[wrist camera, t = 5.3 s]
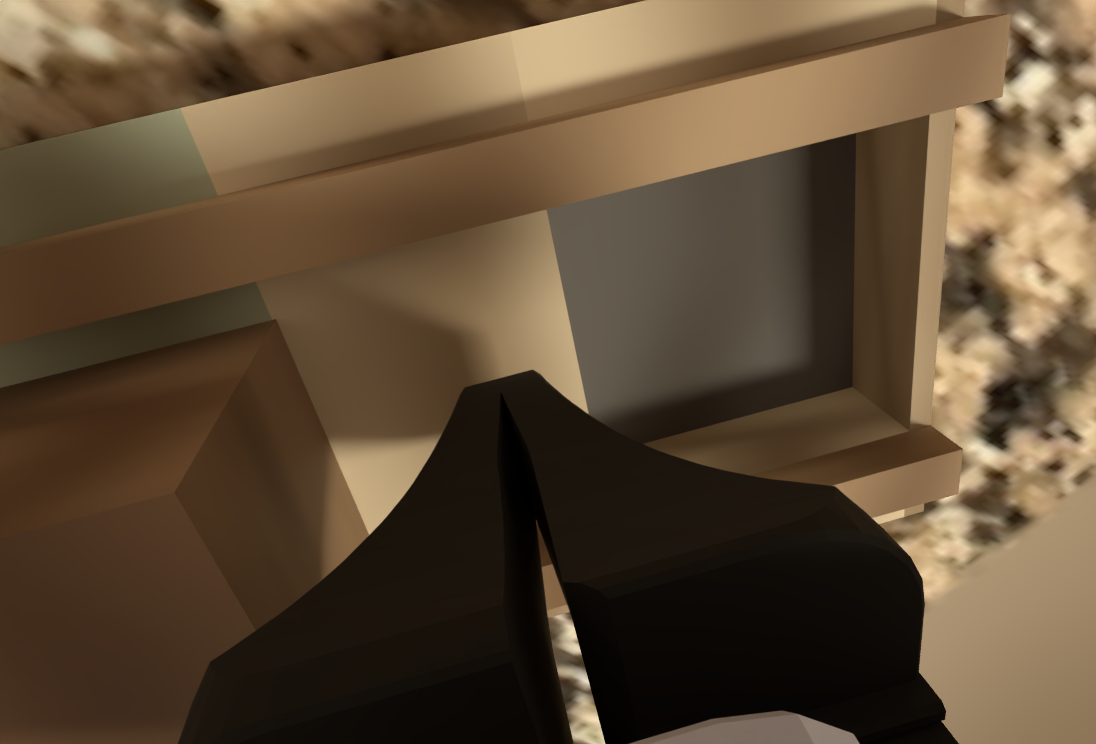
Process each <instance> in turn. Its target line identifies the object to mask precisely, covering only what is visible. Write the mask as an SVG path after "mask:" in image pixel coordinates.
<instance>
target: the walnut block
mask: <svg viewBox="0 0 1096 744" xmlns="http://www.w3.org/2000/svg"><path fill="white" fill-rule="evenodd" d="M368 536H369V533H368V531H367V529H366V526H365V524H364V522H363V519H362V517H361V515H360V512H359V510H358V508H357V505H356V503H355V501H354V499H353V496H352V494H351V492H350V489H349V487H348V485H347V482H346V480H345V478H344V475H343V473H342V471H341V468H340V466H339V464H338V461H337V459H336V457H335V454H334V452H333V450H332V448H331V445H330V443H329V441H328V438H327V436H326V434H325V431H324V429H323V427H322V424H321V422H320V420H319V417H318V415H317V413H316V410H315V408H314V406H313V403H312V401H311V399H310V397H309V394H308V392H307V390H306V387H305V385H304V383H303V380H302V378H301V376H300V373H299V371H298V369H297V366H296V364H295V362H294V359H293V357H292V355H291V352H290V350H289V348H288V346H287V343H286V341H285V339H284V336H283V334H282V332H281V329H280V327H279V325H278V322H277V320H276V319H274V320H270V321H266V322H262V323H258V324H254V325H250V326H246V327H242V328H238V329H234V330H230V331H226V332H222V333H218V334H214V335H210V336H206V337H202V338H198V339H194V340H190V341H186V342H182V343H178V344H174V345H170V346H166V347H162V348H158V349H154V350H150V351H146V352H142V353H138V354H134V355H130V356H126V357H122V358H118V359H114V360H110V361H106V362H102V363H98V364H94V365H90V366H86V367H82V368H78V369H74V370H70V371H66V372H62V373H58V374H54V375H50V376H46V377H42V378H38V379H34V380H30V381H26V382H22V383H18V384H14V385H10V386H6V387H2V388H0V744H178V742H179V739H180V736H181V733H182V730H183V727H184V724H185V722H186V719H187V716H188V713H189V710H190V707H191V704H192V702H193V700H194V697H195V695H196V693H197V690H198V688H199V686H200V683H201V681H202V679H203V676H204V674H205V672H206V670H207V667H208V665H209V663H210V661H212V660H213V659H215V658H217V657H218V656H220V655H221V654H223V653H224V652H226V651H227V650H229V649H230V648H232V647H233V646H234V645H236V644H237V643H239V642H240V641H242V640H243V639H244V638H246V637H247V636H249V635H250V634H252V633H253V632H254V631H256V630H257V629H259V628H260V627H262V626H263V625H264V624H266V623H267V622H269V621H270V620H272V619H273V618H274V617H276V616H277V615H279V614H280V613H281V612H283V611H284V610H285V609H287V608H288V607H289V606H291V605H292V604H293V603H294V602H296V601H297V600H298V599H299V598H301V597H302V596H303V595H304V594H306V593H307V592H308V591H309V590H310V589H312V588H313V587H314V586H315V585H317V584H318V583H319V582H320V581H321V580H323V579H324V578H325V577H326V576H327V575H328V574H329V573H331V572H332V571H333V570H334V569H335V568H336V567H337V566H338V565H340V564H341V563H342V562H343V561H344V560H345V559H346V558H347V557H348V556H349V555H350V554H351V553H352V552H353V551H354V550H355V549H356V548H357V547H358V546H359V545H360V544H361V543H362V542H363V541H364V540H365V539H366V538H367V537H368Z"/></svg>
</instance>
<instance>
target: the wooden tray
mask: <svg viewBox="0 0 1096 744" xmlns="http://www.w3.org/2000/svg"><path fill="white" fill-rule="evenodd" d="M964 4H965V0H645V1H641V2H637V3H632V4H628V5H624V6H619V7H615V8H611V9H606V10H602V11H598V12H593V13H589V14H585V15H580V16H576V17H572V18H567V19H563V20H559V21H554V22H550V23H546V24H541V25H537V26H533V27H528V28H524V29H520V30H515V31H511V32H507V33H502V34H498V35H494V36H489V37H485V38H481V39H476V40H472V41H468V42H463V43H459V44H455V45H451V46H446V47H442V48H438V49H433V50H429V51H425V52H420V53H416V54H412V55H407V56H403V57H399V58H394V59H390V60H386V61H381V62H377V63H373V64H368V65H364V66H360V67H355V68H351V69H347V70H342V71H338V72H334V73H329V74H325V75H321V76H316V77H312V78H308V79H303V80H299V81H295V82H290V83H286V84H282V85H277V86H273V87H269V88H264V89H260V90H256V91H251V92H247V93H243V94H238V95H234V96H230V97H226V98H221V99H217V100H213V101H208V102H204V103H200V104H195V105H191V106H187V107H182V108H178V109H174V110H169V111H165V112H161V113H156V114H152V115H148V116H143V117H139V118H135V119H130V120H126V121H122V122H117V123H113V124H109V125H104V126H100V127H96V128H91V129H87V130H83V131H78V132H74V133H70V134H65V135H61V136H57V137H52V138H48V139H44V140H39V141H35V142H31V143H26V144H22V145H18V146H13V147H9V148H5V149H1V150H0V388H2V387H6V386H10V385H14V384H18V383H22V382H26V381H30V380H34V379H38V378H42V377H46V376H50V375H54V374H58V373H62V372H66V371H70V370H74V369H78V368H82V367H86V366H90V365H94V364H98V363H102V362H106V361H110V360H114V359H118V358H122V357H126V356H130V355H134V354H138V353H142V352H146V351H150V350H154V349H158V348H162V347H166V346H170V345H174V344H178V343H182V342H186V341H190V340H194V339H198V338H202V337H206V336H210V335H214V334H218V333H222V332H226V331H230V330H234V329H238V328H242V327H246V326H250V325H254V324H258V323H262V322H266V321H270V320H274V319H276V320H277V322H278V325H279V327H280V329H281V332H282V334H283V336H284V339H285V341H286V343H287V346H288V348H289V350H290V352H291V355H292V357H293V359H294V362H295V364H296V366H297V369H298V371H299V373H300V376H301V378H302V380H303V383H304V385H305V387H306V390H307V392H308V394H309V397H310V399H311V401H312V403H313V406H314V408H315V410H316V413H317V415H318V417H319V420H320V422H321V424H322V427H323V429H324V431H325V434H326V436H327V438H328V441H329V443H330V445H331V448H332V450H333V452H334V454H335V457H336V459H337V461H338V464H339V466H340V468H341V471H342V473H343V475H344V478H345V480H346V482H347V485H348V487H349V489H350V492H351V494H352V496H353V499H354V501H355V503H356V505H357V508H358V510H359V512H360V515H361V517H362V519H363V522H364V524H365V526H366V529H367V531H368V533H369V535H370V534H371V533H372V532H373V531H374V530H375V529H376V528H377V527H378V526H379V525H380V524H381V522H382V521H383V520H384V519H385V518H386V517H387V516H388V514H389V513H390V512H391V511H392V509H393V508H394V507H395V506H396V505H397V503H398V502H399V501H400V500H401V499H402V497H403V496H404V495H405V493H406V492H407V491H408V489H409V488H410V487H411V485H412V484H413V482H414V481H415V479H416V477H417V476H418V474H419V473H420V471H421V469H422V468H423V466H424V465H425V463H426V462H427V460H428V458H429V457H430V455H431V453H432V452H433V450H434V448H435V446H436V444H437V442H438V440H439V438H440V437H441V435H442V433H443V431H444V429H445V427H446V425H447V423H448V421H449V419H450V416H451V414H452V412H453V410H454V408H455V405H456V403H457V401H458V398H459V396H460V394H461V392H462V391H463V389H464V387H468V386H472V385H476V384H479V383H483V382H487V381H491V380H495V379H498V378H502V377H506V376H510V375H514V374H517V373H521V372H525V371H529V370H535V371H536V372H538V373H540V374H541V375H542V376H543V377H544V378H545V380H546V381H548V382H549V383H550V384H551V385H552V386H553V387H554V388H555V389H556V390H558V391H559V392H560V393H561V394H562V395H563V396H565V397H566V398H567V399H568V400H570V401H571V402H572V403H574V404H575V405H577V406H578V407H579V408H581V409H582V410H583V411H585V412H586V413H588V414H589V415H591V416H592V417H594V418H595V419H597V420H598V421H600V422H601V423H603V424H605V425H606V426H608V427H610V428H611V429H613V430H615V431H616V432H618V433H620V434H622V435H624V436H626V437H628V438H630V439H633V440H635V441H637V442H639V443H642V444H644V445H646V446H648V447H651V448H653V449H656V450H658V451H661V452H664V453H667V454H669V455H673V456H676V457H679V458H682V459H685V460H688V461H691V462H695V463H698V464H701V465H705V466H709V467H713V468H717V469H721V470H725V471H730V472H735V473H740V474H745V475H750V476H755V477H761V478H767V479H775V480H784V481H793V482H802V483H811V484H820V485H829V486H835V487H837V488H838V489H839V490H840V491H841V492H842V493H843V494H845V495H846V496H847V497H848V498H849V499H851V500H852V501H853V502H854V503H855V504H857V505H858V506H859V507H860V508H861V509H863V510H864V511H865V512H866V513H867V514H868V515H869V516H870V517H871V518H872V519H874V520H875V521H876V522H877V523H878V524H880V523H884V522H887V521H891V520H894V519H898V518H901V517H905V516H908V515H912V514H915V513H919V512H922V511H924V503H927V502H931V501H934V500H938V499H941V498H945V497H948V496H952V495H956V494H958V491H959V482H960V473H961V464H962V454H963V449H962V448H961V447H959V446H958V445H957V444H955V443H954V442H953V441H951V440H950V439H948V438H947V437H946V436H944V435H943V434H942V433H940V432H939V431H937V430H936V429H935V428H933V427H932V426H931V425H930V424H931V412H932V400H933V387H934V375H935V363H936V350H937V338H938V326H939V313H940V301H941V288H942V276H943V264H944V251H945V239H946V227H947V214H948V202H949V190H950V177H951V165H952V152H953V140H954V128H955V115H956V108H958V107H962V106H966V105H970V104H975V103H979V102H983V101H987V100H991V99H995V98H999V97H1002V93H1003V84H1004V75H1005V66H1006V57H1007V48H1008V39H1009V30H1010V21H1011V14H999V15H986V16H973V17H963V16H964ZM536 524H537V521H536ZM537 532H538V540H539V548H540V556H541V565H542V573H543V581H544V590H545V598H546V606H547V615H548V618H550V617H553V616H557V615H560V614H564V613H567V612H570V611H569V608H568V606H567V603H566V600H565V597H564V595H563V592H562V589H561V587H560V584H559V581H558V578H557V576H556V573H555V570H554V568H553V565H552V562H551V559H550V557H549V554H548V551H547V548H546V546H545V543H544V540H543V538H542V535H541V532H540V529H539V527H538V524H537Z"/></svg>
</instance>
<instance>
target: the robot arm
mask: <svg viewBox="0 0 1096 744" xmlns="http://www.w3.org/2000/svg"><path fill="white" fill-rule="evenodd" d="M536 521H537V524H538V527H539V529H540V532H541V535H542V538H543V540H544V543H545V546H546V548H547V551H548V554H549V557H550V559H551V562H552V565H553V568H554V570H555V573H556V576H557V578H558V581H559V584H560V587H561V589H562V592H563V595H564V597H565V600H566V603H567V606H568V608H569V611H570V614H571V617H572V619H573V623H574V627H575V631H576V634H577V638H578V642H579V646H580V649H581V653H582V657H583V661H584V664H585V668H586V672H587V676H588V679H589V683H590V687H591V691H592V695H593V698H594V702H595V706H596V710H597V713H598V717H599V721H600V725H601V728H602V732H603V736H604V740H605V744H958V742H957V741H956V740H955V738H954V737H953V736H952V734H951V733H950V732H949V731H948V729H947V728H946V727H945V725H944V724H943V723H942V722H941V721H942V720H945V714H946V710H945V708H944V705H943V703H942V700H941V699H940V698H939V697H938V696H937V694H936V693H935V692H934V690H933V689H932V688H931V687H930V685H929V684H928V683H927V682H926V680H925V679H924V678H923V677H922V676H921V674H920V673H919V662H920V650H921V640H922V628H923V617H924V606H925V602H924V591H923V580H922V577H921V576H920V574H919V572H918V570H917V568H916V566H915V564H914V562H913V561H912V559H911V557H910V556H909V555H908V554H907V553H906V552H905V551H904V550H903V549H902V548H901V547H900V546H899V545H898V544H897V543H896V542H895V541H894V540H893V539H892V537H891V536H890V535H889V534H888V533H887V532H886V531H885V530H884V529H883V528H882V527H881V526H880V525H879V524H878V523H877V522H876V521H875V520H874V519H872V518H871V517H870V516H869V515H868V514H867V513H866V512H865V511H864V510H863V509H861V508H860V507H859V506H858V505H857V504H855V503H854V502H853V501H852V500H851V499H849V498H848V497H847V496H846V495H845V494H843V493H842V492H841V491H840V490H839V489H838V488H837V487H835V486H829V485H820V484H811V483H802V482H793V481H784V480H775V479H767V478H761V477H755V476H750V475H745V474H740V473H735V472H730V471H725V470H721V469H717V468H713V467H709V466H705V465H701V464H698V463H695V462H691V461H688V460H685V459H682V458H679V457H676V456H673V455H669V454H667V453H664V452H661V451H658V450H656V449H653V448H651V447H648V446H646V445H644V444H642V443H639V442H637V441H635V440H633V439H630V438H628V437H626V436H624V435H622V434H620V433H618V432H616V431H615V430H613V429H611V428H610V427H608V426H606V425H605V424H603V423H601V422H600V421H598V420H597V419H595V418H594V417H592V416H591V415H589V414H588V413H586V412H585V411H583V410H582V409H581V408H579V407H578V406H577V405H575V404H574V403H572V402H571V401H570V400H568V399H567V398H566V397H565V396H563V395H562V394H561V393H560V392H559V391H558V390H556V389H555V388H554V387H553V386H552V385H551V384H550V383H549V382H548V381H546V380H545V378H544V377H543V376H542V375H541V374H540V373H538V372H536V371H535V370H529V371H525V372H521V373H517V374H514V375H510V376H506V377H502V378H498V379H495V380H491V381H487V382H483V383H479V384H476V385H472V386H468V387H464V389H463V391H462V392H461V394H460V396H459V398H458V401H457V403H456V405H455V408H454V410H453V412H452V414H451V416H450V419H449V421H448V423H447V425H446V427H445V429H444V431H443V433H442V435H441V437H440V438H439V440H438V442H437V444H436V446H435V448H434V450H433V452H432V453H431V455H430V457H429V458H428V460H427V462H426V463H425V465H424V466H423V468H422V469H421V471H420V473H419V474H418V476H417V477H416V479H415V481H414V482H413V484H412V485H411V487H410V488H409V489H408V491H407V492H406V493H405V495H404V496H403V497H402V499H401V500H400V501H399V502H398V503H397V505H396V506H395V507H394V508H393V509H392V511H391V512H390V513H389V514H388V516H387V517H386V518H385V519H384V520H383V521H382V522H381V524H380V525H379V526H378V527H377V528H376V529H375V530H374V531H373V532H372V533H371V534H370V535H369V536H368V537H367V538H366V539H365V540H364V541H363V542H362V543H361V544H360V545H359V546H358V547H357V548H356V549H355V550H354V551H353V552H352V553H351V554H350V555H349V556H348V557H347V558H346V559H345V560H344V561H343V562H342V563H341V564H340V565H338V566H337V567H336V568H335V569H334V570H333V571H332V572H331V573H329V574H328V575H327V576H326V577H325V578H324V579H323V580H321V581H320V582H319V583H318V584H317V585H315V586H314V587H313V588H312V589H310V590H309V591H308V592H307V593H306V594H304V595H303V596H302V597H301V598H299V599H298V600H297V601H296V602H294V603H293V604H292V605H291V606H289V607H288V608H287V609H285V610H284V611H283V612H281V613H280V614H279V615H277V616H276V617H274V618H273V619H272V620H270V621H269V622H267V623H266V624H264V625H263V626H262V627H260V628H259V629H257V630H256V631H254V632H253V633H252V634H250V635H249V636H247V637H246V638H244V639H243V640H242V641H240V642H239V643H237V644H236V645H234V646H233V647H232V648H230V649H229V650H227V651H226V652H224V653H223V654H221V655H220V656H218V657H217V658H215V659H213V660H212V661H210V663H209V665H208V667H207V670H206V672H205V674H204V676H203V679H202V681H201V683H200V686H199V688H198V690H197V693H196V695H195V697H194V700H193V702H192V704H191V707H190V710H189V713H188V716H187V719H186V722H185V724H184V727H183V730H182V733H181V736H180V739H179V742H178V744H573V739H572V735H571V730H570V726H569V721H568V717H567V713H566V708H565V704H564V699H563V695H562V690H561V686H560V681H559V677H558V672H557V668H556V663H555V659H554V654H553V649H552V643H551V637H550V630H549V623H548V615H547V606H546V598H545V590H544V581H543V573H542V565H541V556H540V548H539V540H538V532H537V524H536Z"/></svg>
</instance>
